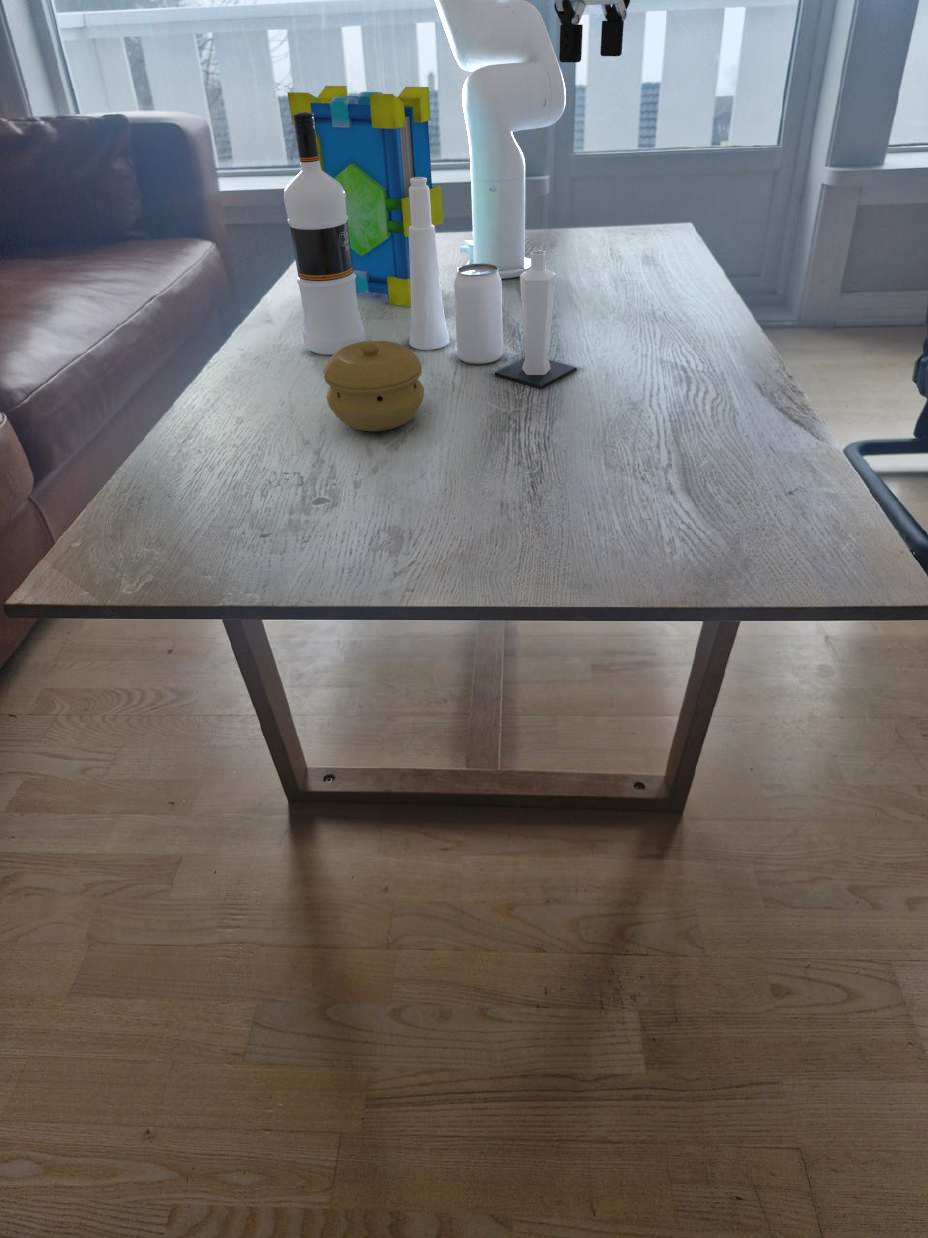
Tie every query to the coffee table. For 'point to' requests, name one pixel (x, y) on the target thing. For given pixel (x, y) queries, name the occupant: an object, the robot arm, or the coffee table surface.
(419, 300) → the cosmetic bottle
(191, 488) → the coffee table surface
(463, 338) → the can
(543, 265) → the perfume bottle
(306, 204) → the vodka
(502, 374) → the coaster
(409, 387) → the pot
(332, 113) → the decorative book
